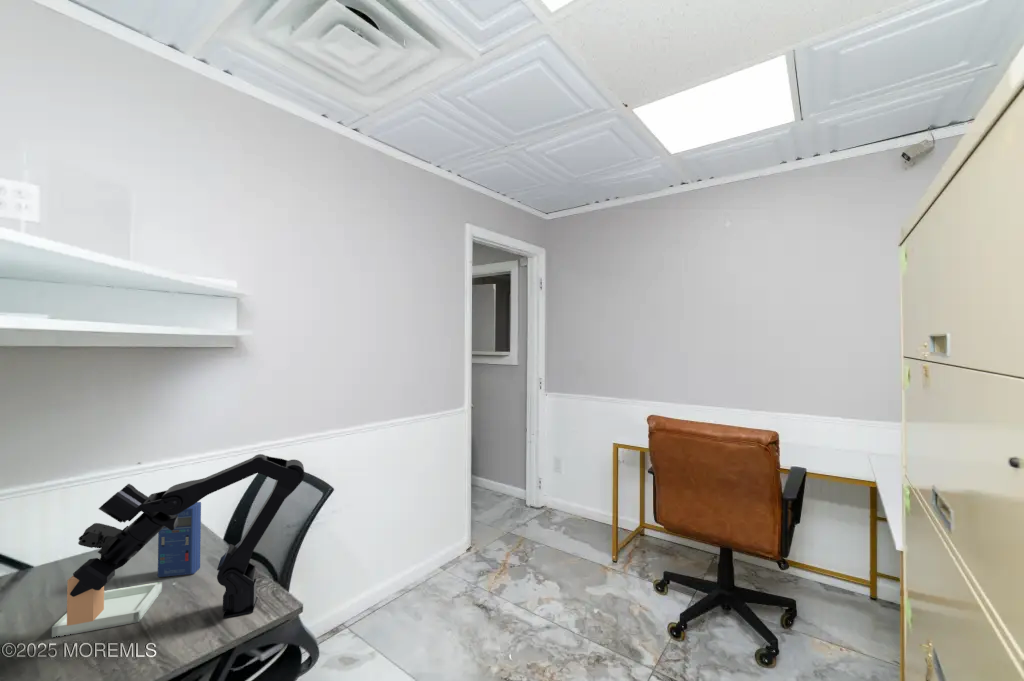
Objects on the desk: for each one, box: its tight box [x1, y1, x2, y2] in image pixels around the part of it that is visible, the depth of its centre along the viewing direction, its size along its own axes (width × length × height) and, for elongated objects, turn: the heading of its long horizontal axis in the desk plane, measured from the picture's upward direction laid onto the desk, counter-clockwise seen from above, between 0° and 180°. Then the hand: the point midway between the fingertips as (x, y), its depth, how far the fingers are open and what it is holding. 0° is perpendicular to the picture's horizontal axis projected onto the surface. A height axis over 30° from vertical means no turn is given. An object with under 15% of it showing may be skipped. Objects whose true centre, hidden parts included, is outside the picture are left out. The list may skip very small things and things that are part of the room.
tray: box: [51, 581, 163, 639], centre depth 107 cm, size 16×14×2 cm
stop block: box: [66, 575, 105, 626], centre depth 96 cm, size 4×4×10 cm
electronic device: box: [157, 501, 202, 578], centre depth 126 cm, size 10×5×20 cm, turn 102°
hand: (78, 589), depth 96 cm, fingers closed on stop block, 4 cm apart
